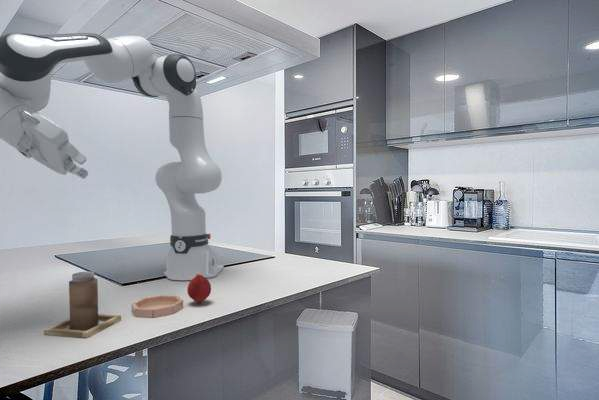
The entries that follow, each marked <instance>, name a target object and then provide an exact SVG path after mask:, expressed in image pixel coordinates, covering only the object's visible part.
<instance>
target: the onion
mask: <svg viewBox="0 0 599 400" xmlns="http://www.w3.org/2000/svg"><path fill="white" fill-rule="evenodd" d="M211 293H212V285H211V282H210V281H209V279H208V278H205V277H203V276H202V275H201V274H200V273H199V272H197V274H196V277H194V278H193V279H192V280H189V283H188V285H187V295H188V297H189V298H190V299H191V300H192V301H194V302H195V303H196V304H202V303H203V302H204V301H206V300H207V298H208V297H209V296H210V295H211Z"/></svg>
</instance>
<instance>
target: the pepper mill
mask: <svg viewBox="0 0 599 400" xmlns="http://www.w3.org/2000/svg"><path fill="white" fill-rule="evenodd" d="M71 278H72V279H71V280H70V281H68V295H69V296H68V297H69V298H68V300H69V301H68V302H69V319H70V325H69V330H81V331H87V330H89V329H91V328H93V327H95V326H97V325H99V320H98V314H99V289H98V288H99V287H98V284H99V282H98V281H99V280H98V278H96V277H95V272H94V271H80V272H75V273H72V274H71Z"/></svg>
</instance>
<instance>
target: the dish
mask: <svg viewBox="0 0 599 400" xmlns="http://www.w3.org/2000/svg"><path fill="white" fill-rule="evenodd" d="M183 308H184V300H183V298H181V297H180V296H178V295H166V294H165V295H164V294H162V295H154V296H148V297H144V298H141V299H138V300H137V301H134V302H132V303H131V312H132V315H134V317H136V318H159V317H163V316H168V315H174V314H175V313H177V312H178V311H180V310H182V309H183Z"/></svg>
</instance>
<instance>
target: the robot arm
mask: <svg viewBox="0 0 599 400" xmlns="http://www.w3.org/2000/svg"><path fill="white" fill-rule="evenodd" d="M79 61H81V62H82V61H83V62H84V64H85V65H86V67H87V69H88V70H89V71H90V72H91V74H92V75H93V76H95V77H96V78H97V79H99V80H100V81H102V82H104V83H107V84H116V83H122V82H123V81H127V80H129V79H131V80H132V82H133V84H134V87H135V88H136V90H138V92H139V93H140V94H141V95H142V96H145V97H149V98H158V97H163V96H165V99H166V100H167V103H168V127H169V128H168V130H169V136H168V137H169V143H170V144H171V146H172V147H173V148H175V149H176V150H177V152H178V154H179V158H180V161H172V162H171V161H170V162H169V163H166V164H163V165H161V166H159V167H158V168H157V170H156V172H155V178H154V179H155V183H156V185H157V187H158V188H159V190H161V191H162V192H163V194H164V196H165V199H166V201H167V204H168V206H169V207H168V208H169V212H170V223H171V235H170V237H169V242H170V249H169V250H168V251H167V255H166V256H167V258H166V260H167V261H166V270H165V271H163V276H165V277H166V279H168V280H172V281H191V280H192V279H193V278H194V277H196V274H197V272H199V273H200V274H201V275H202V276H203V277H205V278H206V279H208V278H209V279H210V278H215V277H217V276H218V275H219V274H220V272H221V271H222V270H224V269H225V266H224V265H222V264H219V263H218V254H217V252H216V251H215V250H214V249H213V248H212V246H210V244H209V240H211V238H212V235H211V233H206V232H207V231H206V212H205V210H204V208H203V207H202V206H200V205H199V203H198V200H197V198H196V195H195V194H207V193H210V192H213V191H216V190H217V189H218V188H219V187H220V185H221V183H222V178H223V177H222V172H221V168H220V167H219V165H218V164H216V163H215V162H214V161H213V160H212V158H211V157H210V154H209V153H208V150H207V146H206V143H205V142H206V141H205V130H204V129H205V128H204V112H203V111H204V110H203V104H202V99H201V95H200V93H199V91H198V90H197V89H196V87H197V72H196V68H195V66H194V64H193V62H192V61H191V59H190V58H189V57H188V56H187V55H184V54H182V53H171V54H168V55H164V56H158V55H156V53H155V49H154V46H153V45H152V44H151V42H149V40H148V39H146V38H145V37H143V36H139V35H121V36H114V37H109V38H106V37H104V36H102V35H100V34H97V33H91V32H77V33H75V32H74V33H59V34H57V33H56V34H33V33H31V34H30V33H24V32H11V33H7V34H3V35H1V36H0V140H2V141H3V142H5V143H7V144H8V145H9V146H11V147H12V148H14V149H15V150H17V151H18V152H19V153H20V154H21V155H22V156H24V157H25V158H28V159H31V158H33V160H35V161H36V162H38V163H40V164H41V165H42V166H45V167H46V168H49V169H50V170H52V171H54V172H55V173H58V174H60V175H64V176H65V175H67V174H68V173H70V174H72V175H74V176H75V175H76V176H77V177H79V178H80V179H86V178H87V177H88V176H89V172H88V170H86V169H85V168H84V167H80V166H79V165H84V164H85V162H87V156H86V155H85V154H83V153H82V152H80V151H79V150H78V149H77V148H76V147H75V146H74V145H73V143H71V142H70V138H69V133H68V132H67V131H66V130H65V128H63V127H62V126H60V125H59V124H57V123H55V122H54V121H52V120H51V119H49V118H47V117H46V116H43V114H41V113H40V112H39V111H42V110H43V109H44V108H46V107H47V106H48V103H49V101H50V95H51V86H52V85H51V84H52V77H53V72H54V71H55V69H56V68H57V67H58V65H60V64H65V63H73V62H79ZM76 163H77V164H78V165H77V164H76Z"/></svg>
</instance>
